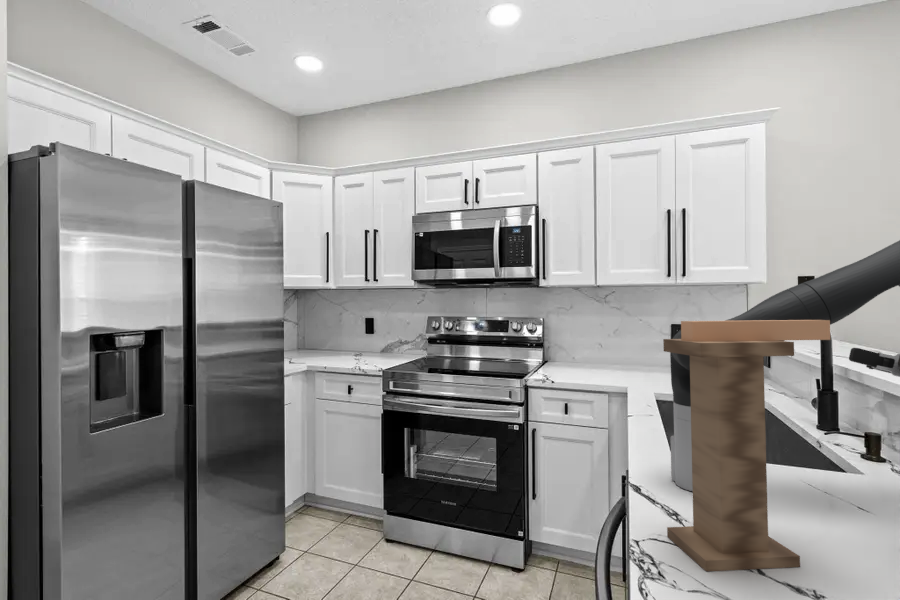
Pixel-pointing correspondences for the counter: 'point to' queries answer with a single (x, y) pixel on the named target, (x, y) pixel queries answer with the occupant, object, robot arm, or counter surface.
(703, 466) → the wooden pedestal column
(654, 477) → the counter surface
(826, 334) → the bar
